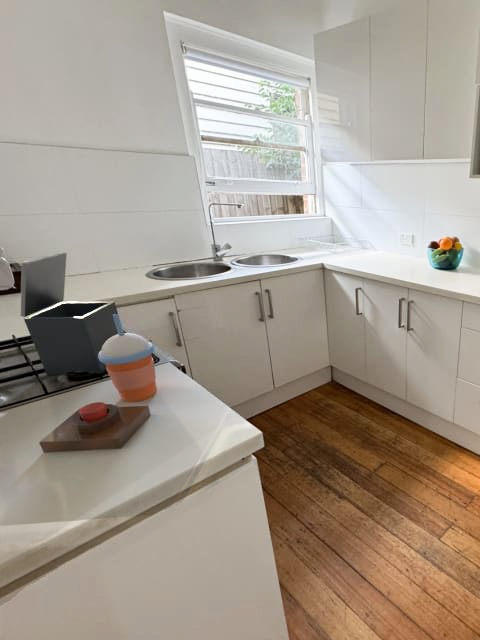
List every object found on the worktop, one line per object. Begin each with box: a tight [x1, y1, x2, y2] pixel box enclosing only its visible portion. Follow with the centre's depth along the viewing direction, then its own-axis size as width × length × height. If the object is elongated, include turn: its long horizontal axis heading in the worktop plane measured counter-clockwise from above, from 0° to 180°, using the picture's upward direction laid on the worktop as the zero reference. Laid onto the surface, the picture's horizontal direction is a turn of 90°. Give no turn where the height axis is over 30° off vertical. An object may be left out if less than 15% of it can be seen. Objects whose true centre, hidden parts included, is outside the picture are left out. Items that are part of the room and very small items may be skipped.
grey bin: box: [23, 301, 119, 376], centre depth 90 cm, size 12×12×14 cm
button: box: [78, 401, 108, 421], centre depth 67 cm, size 4×4×2 cm
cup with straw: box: [98, 313, 158, 403], centre depth 77 cm, size 9×9×18 cm
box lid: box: [20, 251, 68, 318], centre depth 84 cm, size 12×12×1 cm
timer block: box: [38, 403, 151, 453], centre depth 68 cm, size 12×10×4 cm
